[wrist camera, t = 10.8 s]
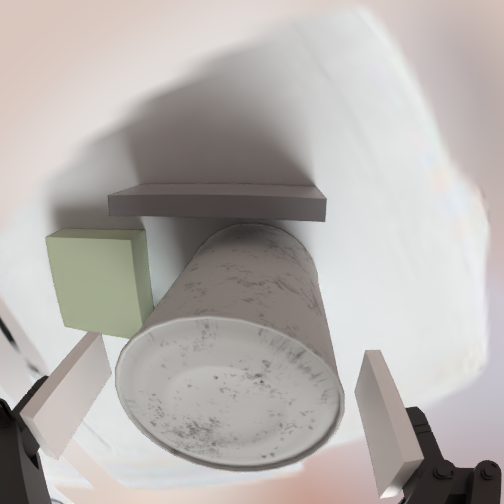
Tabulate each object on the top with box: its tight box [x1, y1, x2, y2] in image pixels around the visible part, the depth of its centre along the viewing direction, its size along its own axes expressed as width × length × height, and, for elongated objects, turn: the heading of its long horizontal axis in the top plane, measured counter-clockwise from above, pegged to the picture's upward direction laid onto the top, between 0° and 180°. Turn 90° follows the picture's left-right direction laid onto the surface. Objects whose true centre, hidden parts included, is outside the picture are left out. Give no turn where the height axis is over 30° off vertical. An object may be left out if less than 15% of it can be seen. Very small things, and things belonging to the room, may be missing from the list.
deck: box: [45, 229, 154, 339], centre depth 23 cm, size 8×8×2 cm
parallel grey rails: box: [108, 183, 327, 222], centre depth 21 cm, size 12×15×5 cm
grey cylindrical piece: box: [115, 223, 344, 472], centre depth 17 cm, size 10×10×12 cm
